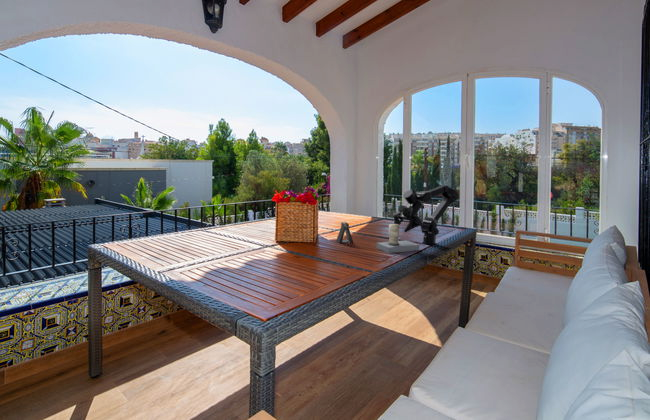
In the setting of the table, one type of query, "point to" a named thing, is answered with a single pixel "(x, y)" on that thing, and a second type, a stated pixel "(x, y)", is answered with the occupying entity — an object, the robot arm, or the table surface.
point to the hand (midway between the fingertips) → (398, 230)
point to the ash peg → (393, 234)
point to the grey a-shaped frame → (341, 233)
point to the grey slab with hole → (398, 246)
